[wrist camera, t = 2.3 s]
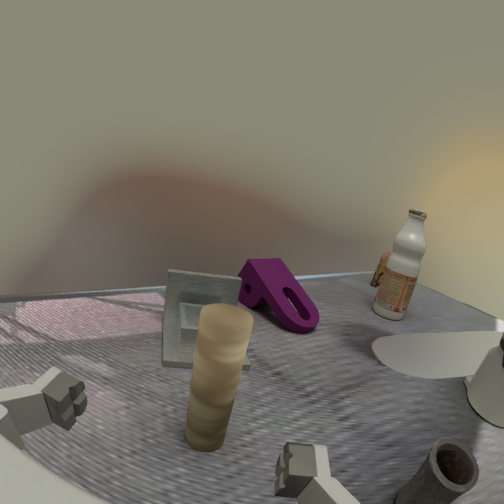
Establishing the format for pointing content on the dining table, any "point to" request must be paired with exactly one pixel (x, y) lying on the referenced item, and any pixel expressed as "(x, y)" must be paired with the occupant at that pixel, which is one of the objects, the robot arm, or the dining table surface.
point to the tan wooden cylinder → (216, 373)
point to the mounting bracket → (277, 293)
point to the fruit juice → (402, 268)
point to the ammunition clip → (380, 270)
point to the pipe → (441, 475)
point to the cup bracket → (192, 311)
